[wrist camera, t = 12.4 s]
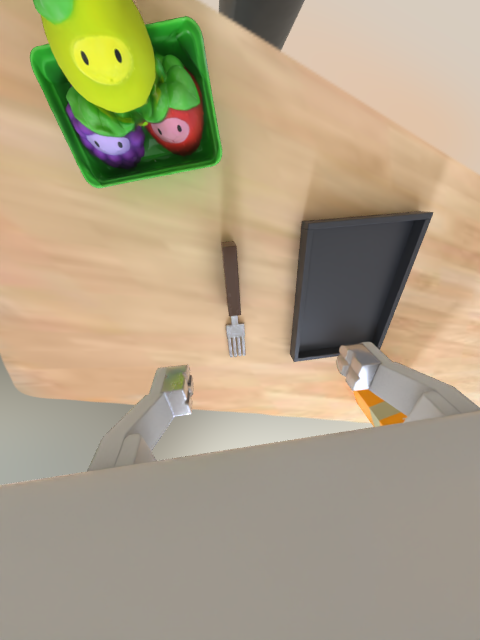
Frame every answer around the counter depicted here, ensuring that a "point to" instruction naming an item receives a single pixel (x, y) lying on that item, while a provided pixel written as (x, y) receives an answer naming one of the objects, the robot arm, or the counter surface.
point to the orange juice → (378, 409)
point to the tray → (351, 279)
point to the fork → (233, 297)
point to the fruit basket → (126, 90)
